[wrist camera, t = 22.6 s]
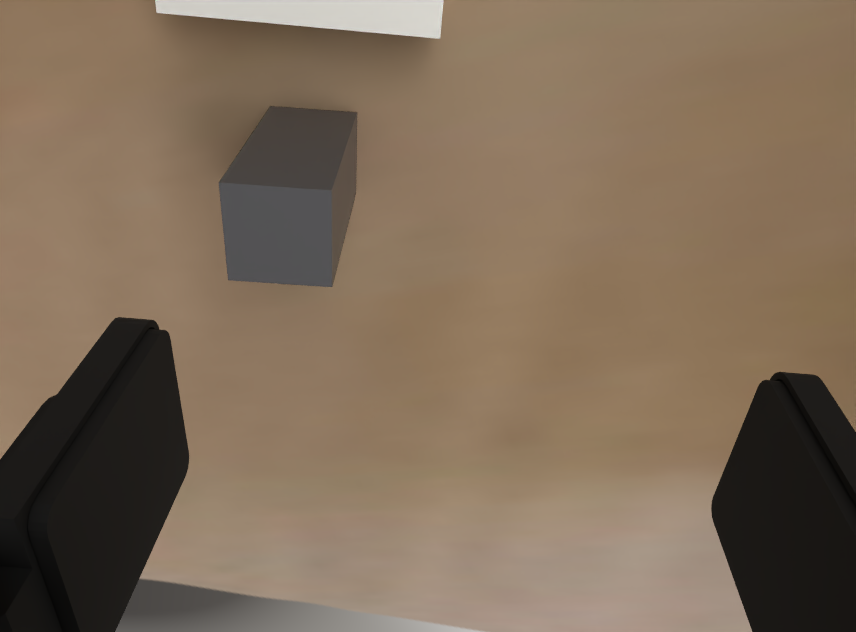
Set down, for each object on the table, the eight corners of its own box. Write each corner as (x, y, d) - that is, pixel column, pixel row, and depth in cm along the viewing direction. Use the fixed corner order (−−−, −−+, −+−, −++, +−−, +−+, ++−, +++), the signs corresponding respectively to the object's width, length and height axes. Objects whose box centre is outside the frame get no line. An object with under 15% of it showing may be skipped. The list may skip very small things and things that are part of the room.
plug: (357, 112, 37) (331, 190, 28) (356, 192, 39) (332, 287, 31) (270, 106, 36) (218, 182, 28) (274, 187, 39) (228, 280, 30)
